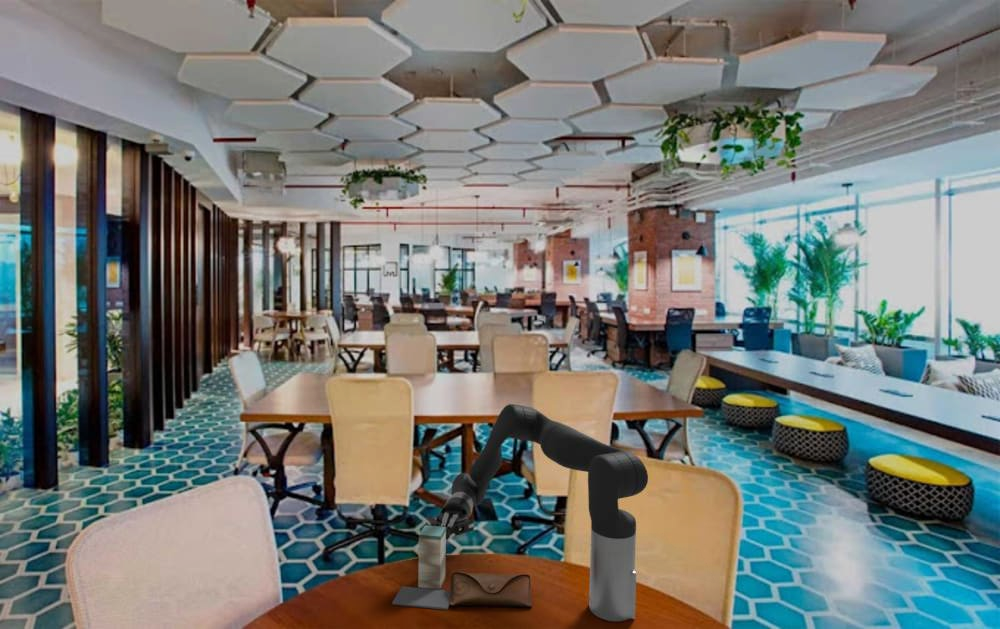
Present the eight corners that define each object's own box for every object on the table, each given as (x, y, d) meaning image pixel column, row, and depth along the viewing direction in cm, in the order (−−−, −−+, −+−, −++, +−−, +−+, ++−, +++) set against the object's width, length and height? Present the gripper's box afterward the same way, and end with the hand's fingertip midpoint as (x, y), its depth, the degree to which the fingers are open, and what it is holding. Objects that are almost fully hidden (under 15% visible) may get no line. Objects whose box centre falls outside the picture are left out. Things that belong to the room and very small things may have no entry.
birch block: (445, 577, 128) (445, 526, 127) (439, 589, 123) (440, 536, 122) (424, 575, 129) (425, 525, 128) (418, 587, 124) (418, 534, 123)
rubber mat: (454, 593, 122) (454, 591, 122) (447, 609, 115) (447, 608, 115) (401, 588, 123) (401, 586, 123) (392, 604, 117) (392, 602, 117)
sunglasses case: (449, 605, 115) (450, 570, 118) (449, 606, 121) (451, 572, 124) (534, 607, 116) (534, 572, 119) (530, 607, 122) (530, 574, 125)
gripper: (434, 495, 152) (416, 520, 135) (481, 498, 150) (469, 524, 133) (433, 521, 152) (415, 550, 135) (480, 525, 151) (468, 554, 134)
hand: (442, 537), depth 134 cm, fingers closed
